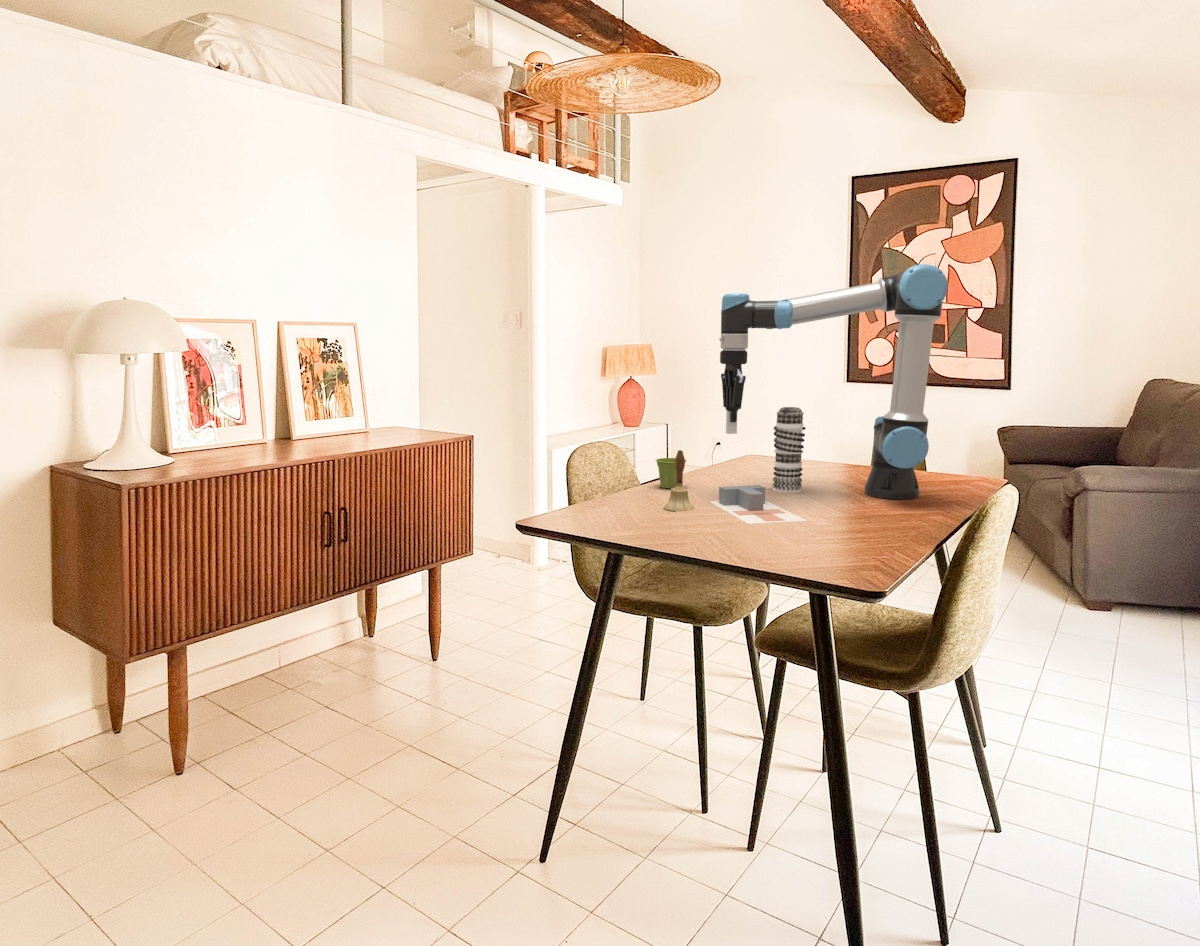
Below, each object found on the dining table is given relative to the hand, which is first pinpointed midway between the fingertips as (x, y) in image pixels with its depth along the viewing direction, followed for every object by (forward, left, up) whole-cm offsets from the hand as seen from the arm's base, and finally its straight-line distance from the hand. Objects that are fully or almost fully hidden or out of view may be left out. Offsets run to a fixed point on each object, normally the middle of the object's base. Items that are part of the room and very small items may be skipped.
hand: (731, 433), depth 237 cm
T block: (0, +13, -19) cm, 23 cm away
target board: (0, +19, -19) cm, 27 cm away
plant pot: (+12, -19, -19) cm, 29 cm away
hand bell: (+19, +11, -19) cm, 29 cm away
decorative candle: (-21, -7, -19) cm, 29 cm away
